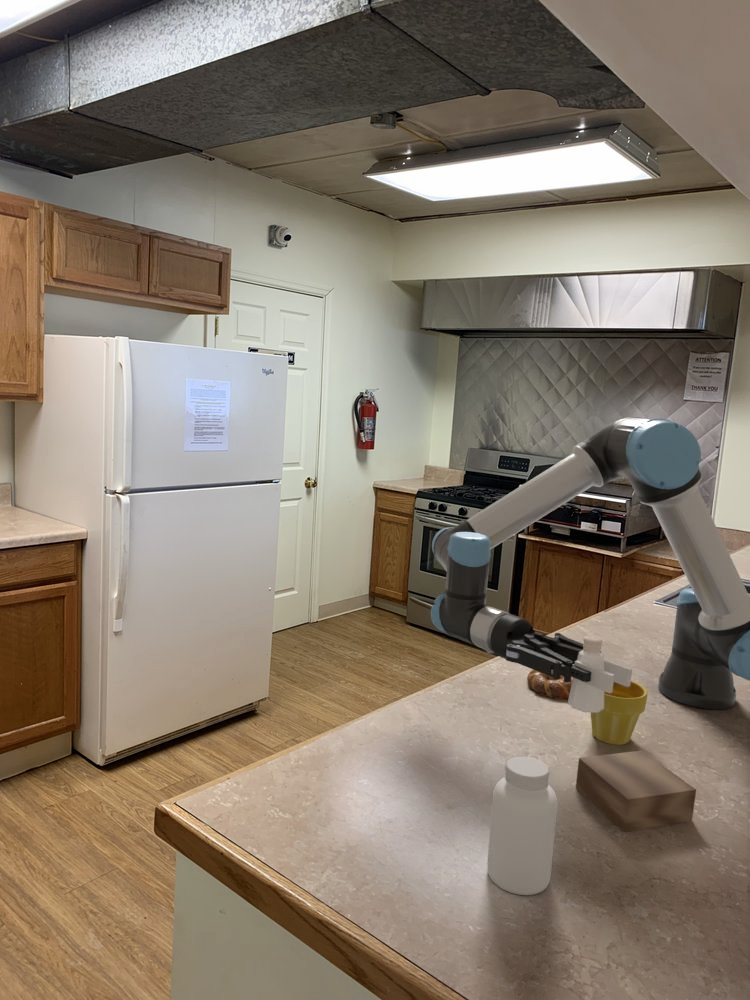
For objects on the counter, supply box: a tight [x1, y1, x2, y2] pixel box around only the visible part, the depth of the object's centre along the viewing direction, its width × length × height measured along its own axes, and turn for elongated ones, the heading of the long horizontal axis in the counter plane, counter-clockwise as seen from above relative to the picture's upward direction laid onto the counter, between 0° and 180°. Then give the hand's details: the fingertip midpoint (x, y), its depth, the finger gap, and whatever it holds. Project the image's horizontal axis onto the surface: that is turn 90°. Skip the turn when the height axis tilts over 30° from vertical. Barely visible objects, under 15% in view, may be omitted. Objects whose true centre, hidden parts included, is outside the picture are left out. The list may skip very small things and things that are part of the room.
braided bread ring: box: [526, 669, 573, 700], centre depth 155 cm, size 12×11×4 cm
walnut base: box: [575, 750, 697, 833], centre depth 112 cm, size 12×12×5 cm
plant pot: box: [590, 679, 648, 746], centre depth 133 cm, size 10×10×10 cm
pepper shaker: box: [567, 634, 605, 714], centre depth 113 cm, size 5×5×11 cm
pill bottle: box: [487, 756, 559, 896], centre depth 92 cm, size 8×8×15 cm
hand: (620, 680), depth 109 cm, fingers closed on pepper shaker, 4 cm apart
